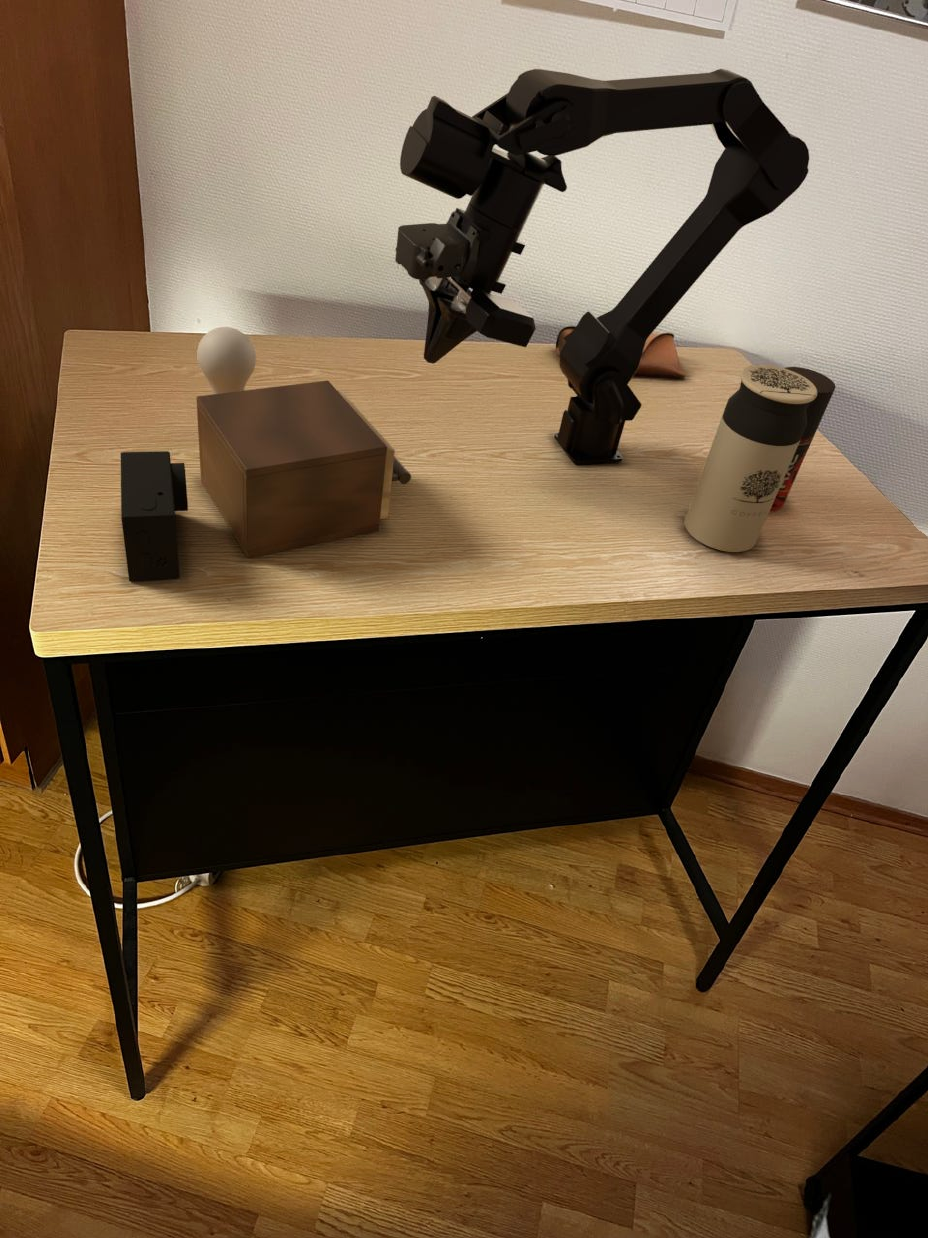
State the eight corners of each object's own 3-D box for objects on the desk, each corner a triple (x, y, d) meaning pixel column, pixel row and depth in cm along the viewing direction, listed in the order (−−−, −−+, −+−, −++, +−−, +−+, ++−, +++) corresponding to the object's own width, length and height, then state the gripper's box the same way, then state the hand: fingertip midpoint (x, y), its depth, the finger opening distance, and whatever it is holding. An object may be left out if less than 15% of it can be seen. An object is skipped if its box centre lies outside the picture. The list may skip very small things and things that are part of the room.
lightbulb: (189, 425, 100) (183, 330, 92) (221, 404, 104) (217, 312, 97) (237, 442, 98) (234, 347, 91) (267, 420, 103) (267, 328, 96)
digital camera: (194, 578, 80) (189, 514, 76) (129, 582, 79) (121, 516, 74) (187, 512, 88) (183, 449, 83) (127, 514, 86) (120, 450, 81)
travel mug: (678, 507, 101) (731, 357, 90) (747, 517, 102) (808, 369, 90) (689, 549, 95) (747, 393, 84) (762, 559, 96) (830, 406, 84)
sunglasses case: (571, 372, 123) (573, 321, 122) (553, 376, 130) (555, 327, 128) (690, 377, 127) (693, 328, 126) (667, 380, 134) (670, 334, 133)
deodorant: (756, 515, 102) (807, 395, 93) (723, 487, 106) (768, 369, 96) (793, 507, 105) (847, 389, 95) (760, 480, 109) (808, 364, 99)
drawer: (371, 449, 100) (376, 384, 94) (423, 510, 92) (433, 443, 87) (224, 473, 92) (222, 404, 87) (269, 542, 84) (269, 470, 79)
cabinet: (324, 461, 98) (328, 379, 92) (379, 530, 90) (387, 446, 84) (200, 481, 92) (196, 396, 86) (247, 558, 83) (246, 469, 77)
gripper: (384, 151, 86) (326, 302, 94) (482, 235, 76) (407, 396, 84) (471, 187, 93) (411, 323, 101) (572, 268, 83) (495, 413, 91)
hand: (428, 361), depth 94 cm, fingers closed
